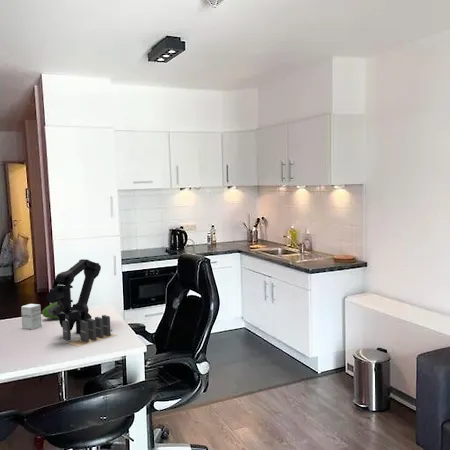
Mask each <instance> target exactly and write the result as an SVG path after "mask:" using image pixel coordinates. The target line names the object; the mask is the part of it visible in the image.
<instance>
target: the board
mask: <svg viewBox="0 0 450 450" xmlns="http://www.w3.org/2000/svg"><path fill="white" fill-rule="evenodd" d="M115 336H117V335H116V334H113V333H111V336H106V335H104V338H99V337H96V340H91V339H89V342H87V343H86V342H83V341H81V338H80V339H76V340H73V341H69V342H68V344H70V345H72V346H74V347H77V348H79V347H81V346H85V345H88V344H91V343H96V342H99V341H102V340H105V339H109V338H112V337H115Z"/></svg>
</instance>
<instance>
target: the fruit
mask: <svg viewBox="0 0 450 450" xmlns="http://www.w3.org/2000/svg"><path fill="white" fill-rule="evenodd" d="M56 304H57V302H55V303H50V304H49V305H47V306H45V307H44V308H43V310H42V311H41V316H43V317H44V318H47V319H54V320H57V319H58V317H57V316H51V315H50V314H49V312H48V309H49V308H51V307H53V306H54V305H56Z"/></svg>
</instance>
